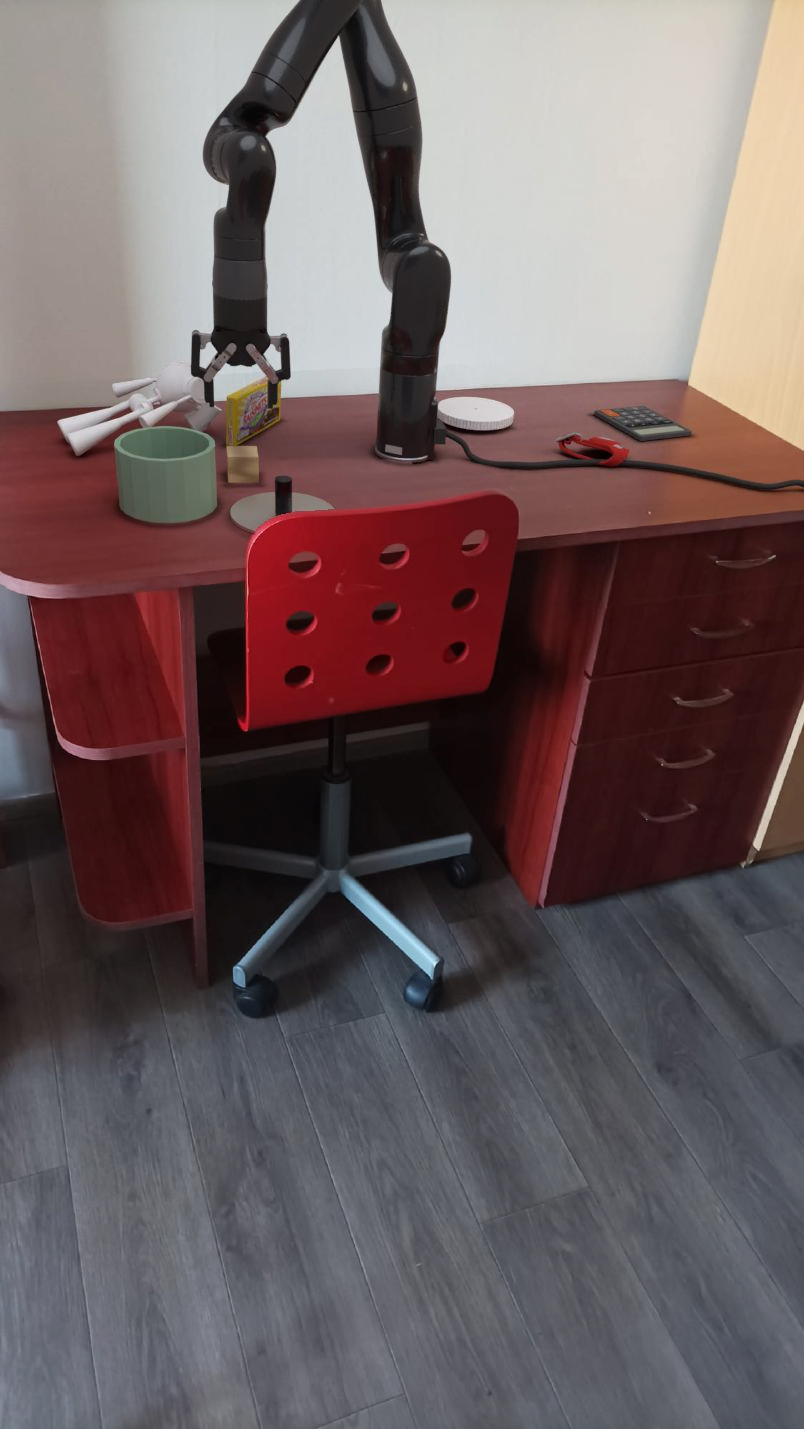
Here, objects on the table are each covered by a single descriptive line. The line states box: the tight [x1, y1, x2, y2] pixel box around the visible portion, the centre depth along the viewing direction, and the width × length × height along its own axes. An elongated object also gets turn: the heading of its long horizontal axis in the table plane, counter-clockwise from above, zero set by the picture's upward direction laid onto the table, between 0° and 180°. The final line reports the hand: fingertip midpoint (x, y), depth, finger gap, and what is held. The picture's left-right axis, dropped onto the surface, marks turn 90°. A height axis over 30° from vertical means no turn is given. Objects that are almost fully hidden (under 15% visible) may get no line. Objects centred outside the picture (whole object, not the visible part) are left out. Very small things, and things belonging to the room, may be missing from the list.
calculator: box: [593, 405, 693, 442], centre depth 194 cm, size 12×1×15 cm
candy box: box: [225, 375, 282, 446], centre depth 175 cm, size 16×2×8 cm, turn 158°
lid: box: [229, 475, 335, 535], centre depth 147 cm, size 15×15×6 cm
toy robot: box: [57, 360, 222, 457], centre depth 169 cm, size 19×12×25 cm
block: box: [225, 445, 260, 484], centre depth 158 cm, size 5×5×5 cm
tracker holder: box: [555, 432, 630, 468], centre depth 176 cm, size 12×4×10 cm
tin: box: [113, 425, 218, 524], centre depth 147 cm, size 14×14×10 cm
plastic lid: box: [437, 396, 515, 431], centre depth 188 cm, size 14×14×2 cm
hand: (241, 406), depth 153 cm, fingers open, 8 cm apart
